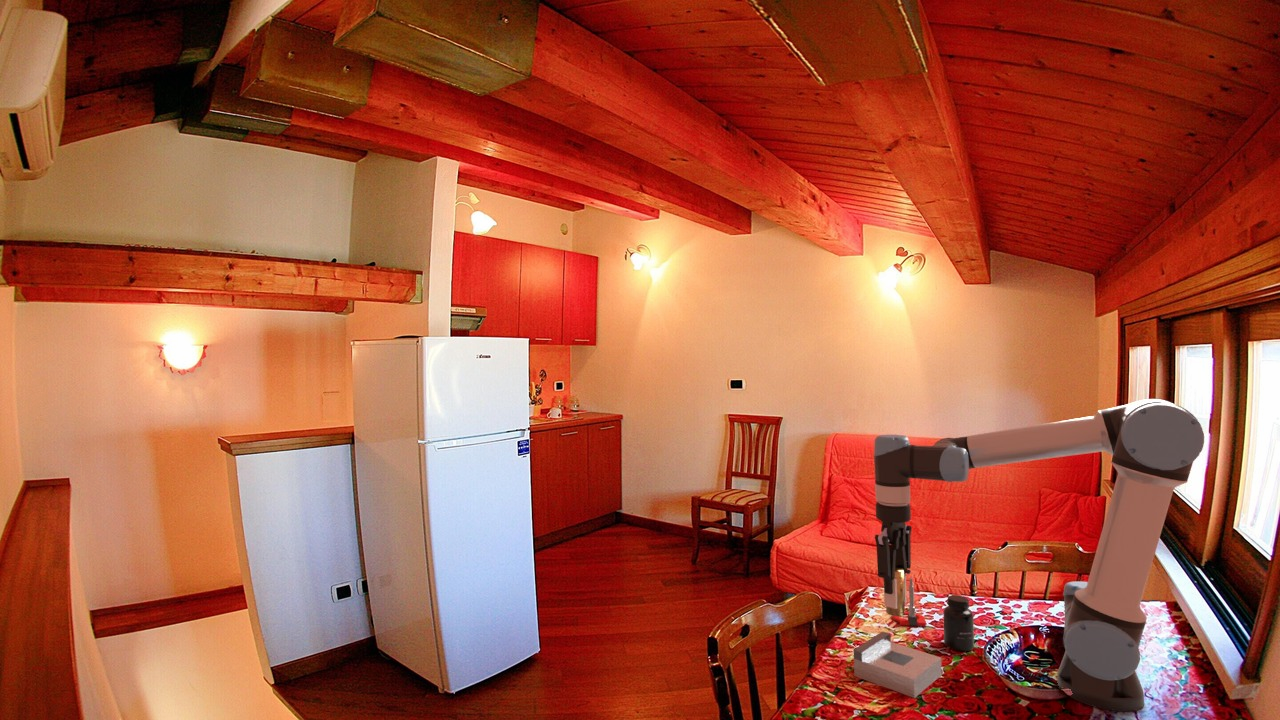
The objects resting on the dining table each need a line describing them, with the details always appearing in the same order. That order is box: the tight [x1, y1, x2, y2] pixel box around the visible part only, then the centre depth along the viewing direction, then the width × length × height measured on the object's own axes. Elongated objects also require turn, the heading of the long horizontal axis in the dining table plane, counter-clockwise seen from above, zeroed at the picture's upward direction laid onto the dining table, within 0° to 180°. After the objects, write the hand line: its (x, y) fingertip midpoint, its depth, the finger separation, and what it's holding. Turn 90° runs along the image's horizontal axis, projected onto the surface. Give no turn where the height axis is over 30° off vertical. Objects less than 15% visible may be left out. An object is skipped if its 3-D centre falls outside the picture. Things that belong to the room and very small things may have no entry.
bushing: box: [885, 567, 906, 617], centre depth 148 cm, size 4×4×10 cm
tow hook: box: [891, 577, 927, 627], centre depth 179 cm, size 8×13×9 cm
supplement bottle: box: [943, 594, 975, 652], centre depth 162 cm, size 7×7×12 cm
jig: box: [853, 630, 943, 699], centre depth 148 cm, size 14×14×6 cm
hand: (895, 603), depth 148 cm, fingers closed on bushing, 4 cm apart
